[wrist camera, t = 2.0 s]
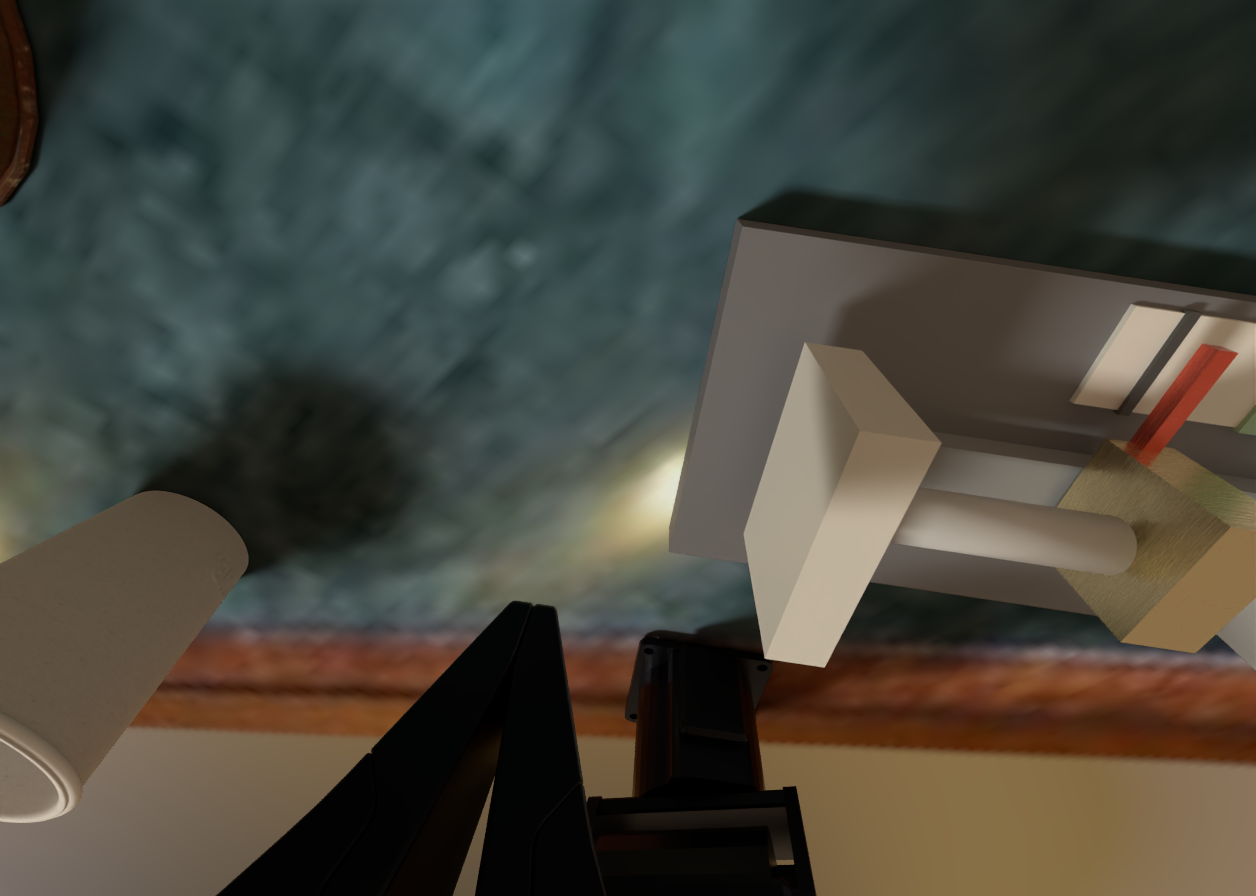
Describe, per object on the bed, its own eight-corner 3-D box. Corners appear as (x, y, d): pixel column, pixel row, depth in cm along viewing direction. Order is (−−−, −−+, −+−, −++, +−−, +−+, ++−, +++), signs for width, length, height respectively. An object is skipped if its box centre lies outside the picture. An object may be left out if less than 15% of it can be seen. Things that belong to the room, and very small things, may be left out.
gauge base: (1238, 611, 22) (1520, 852, 14) (669, 527, 22) (666, 725, 14) (1537, 338, 15) (2304, 519, 8) (736, 218, 15) (792, 294, 8)
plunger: (994, 571, 18) (1094, 707, 14) (743, 534, 18) (764, 658, 14) (1120, 388, 14) (1309, 497, 10) (804, 342, 14) (859, 430, 10)
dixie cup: (253, 480, 22) (-11, 698, 14) (293, 613, 26) (112, 840, 18) (59, 451, 22) (-329, 650, 14) (131, 588, 26) (-127, 805, 18)
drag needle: (1090, 548, 17) (1195, 653, 14) (1031, 540, 17) (1120, 641, 14) (1249, 350, 14) (1445, 424, 10) (1173, 339, 14) (1344, 409, 10)
